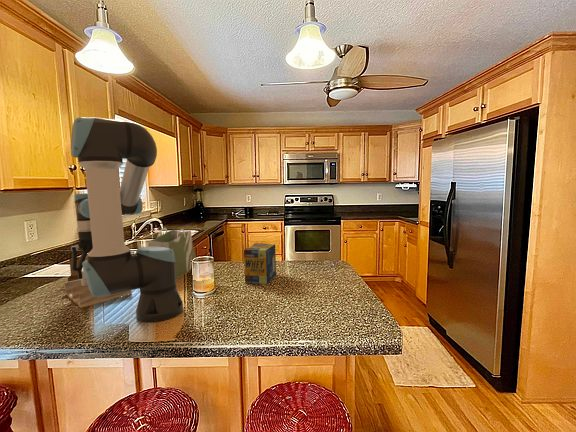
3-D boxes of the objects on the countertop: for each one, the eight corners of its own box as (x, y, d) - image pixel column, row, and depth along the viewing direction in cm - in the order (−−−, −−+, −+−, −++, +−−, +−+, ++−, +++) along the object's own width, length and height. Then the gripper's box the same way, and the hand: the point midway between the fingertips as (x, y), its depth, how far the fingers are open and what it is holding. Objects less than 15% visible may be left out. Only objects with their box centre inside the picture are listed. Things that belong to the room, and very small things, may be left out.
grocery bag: (173, 282, 140) (170, 232, 138) (144, 282, 141) (140, 233, 139) (199, 264, 172) (196, 223, 169) (175, 264, 173) (172, 224, 170)
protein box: (244, 283, 136) (243, 249, 134) (256, 273, 151) (255, 242, 149) (267, 285, 133) (265, 250, 132) (276, 274, 148) (275, 243, 146)
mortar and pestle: (82, 282, 144) (79, 245, 142) (66, 284, 141) (62, 246, 139) (86, 278, 150) (82, 242, 148) (70, 280, 147) (66, 243, 146)
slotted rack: (131, 294, 126) (130, 281, 126) (80, 307, 113) (79, 294, 112) (112, 283, 141) (111, 272, 140) (65, 294, 128) (64, 282, 127)
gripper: (111, 226, 137) (115, 276, 140) (57, 232, 123) (63, 287, 125) (117, 227, 132) (121, 279, 135) (62, 234, 118) (68, 291, 120)
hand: (93, 283), depth 130 cm, fingers closed on flask, 7 cm apart
